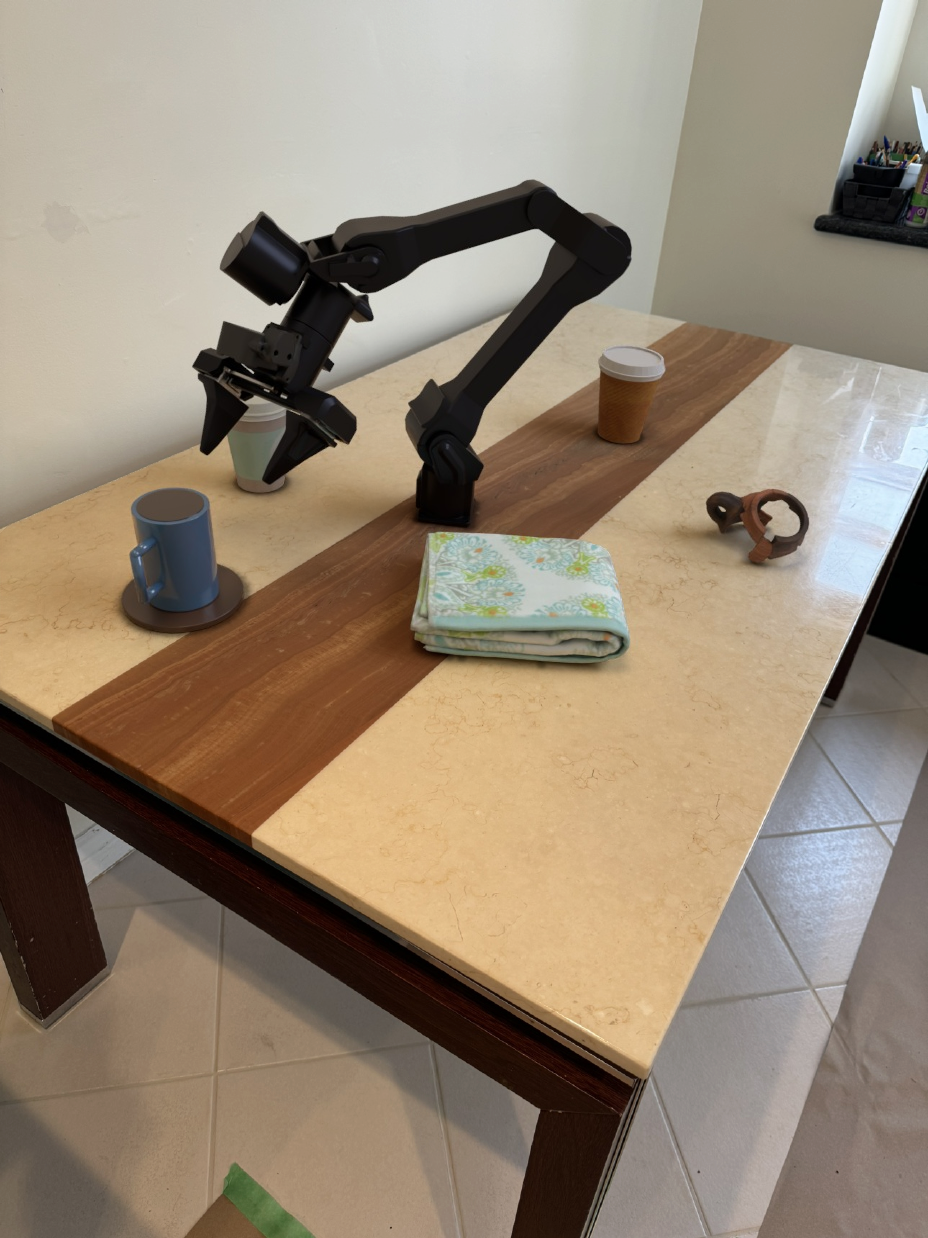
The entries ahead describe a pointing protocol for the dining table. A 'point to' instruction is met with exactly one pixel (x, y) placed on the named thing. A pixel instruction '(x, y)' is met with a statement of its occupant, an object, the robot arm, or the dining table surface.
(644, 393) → the disposable coffee cup
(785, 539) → the brown double ring bracket
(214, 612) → the coaster
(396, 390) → the dining table surface
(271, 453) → the coffee cup
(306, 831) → the dining table surface
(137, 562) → the mug
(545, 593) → the towel
